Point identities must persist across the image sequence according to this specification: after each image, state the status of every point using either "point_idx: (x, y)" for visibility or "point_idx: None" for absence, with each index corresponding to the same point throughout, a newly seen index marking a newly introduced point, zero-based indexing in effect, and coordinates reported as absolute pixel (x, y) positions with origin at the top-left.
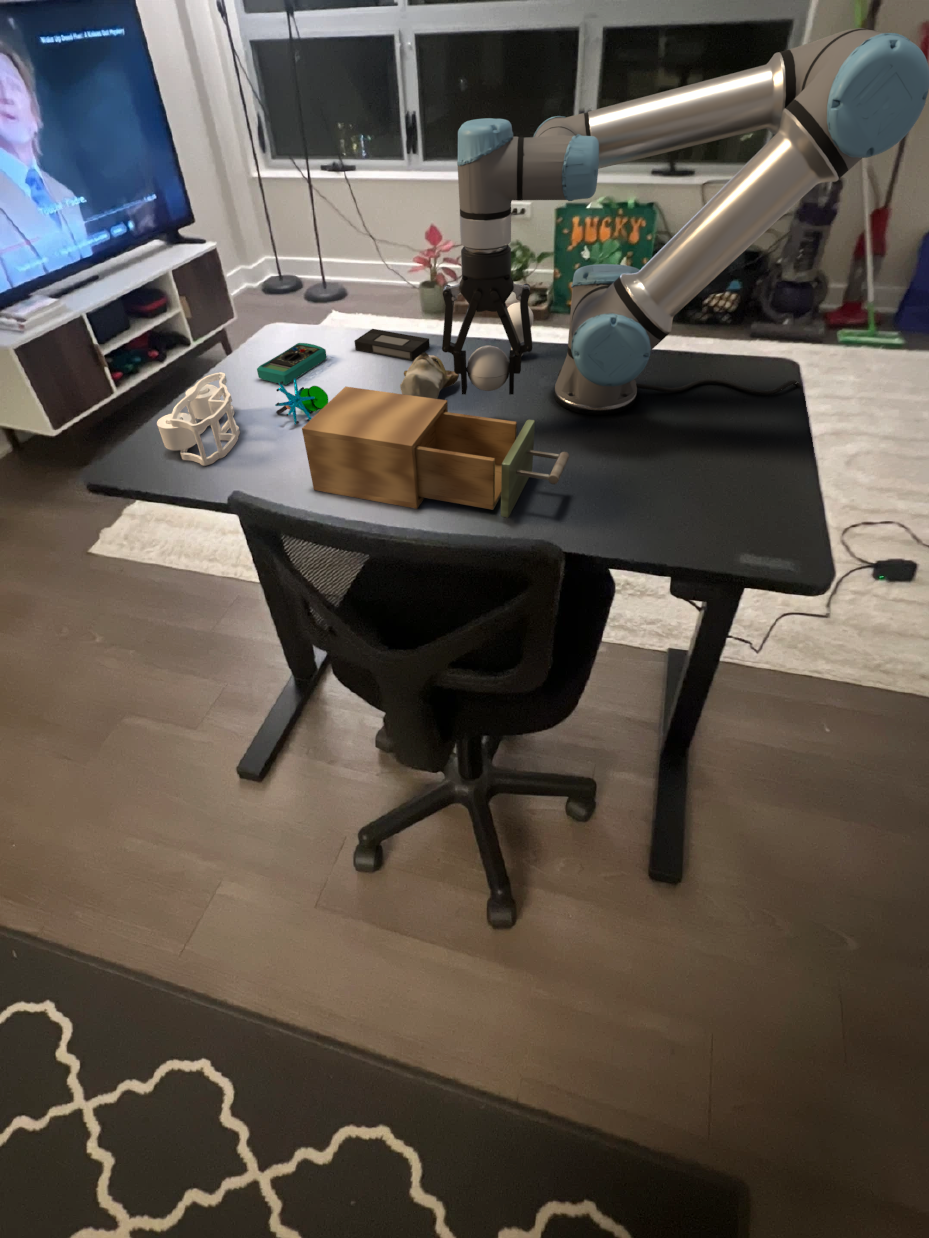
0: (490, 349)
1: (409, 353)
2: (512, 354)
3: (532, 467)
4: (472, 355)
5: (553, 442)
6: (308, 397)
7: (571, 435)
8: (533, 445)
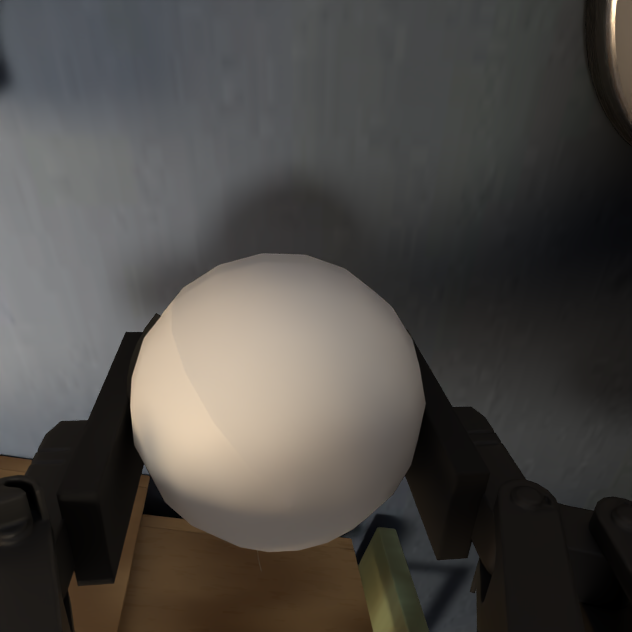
0: (309, 524)
1: None
2: (464, 530)
3: (398, 540)
4: (163, 486)
5: (484, 355)
6: None
7: (554, 310)
8: (419, 606)
